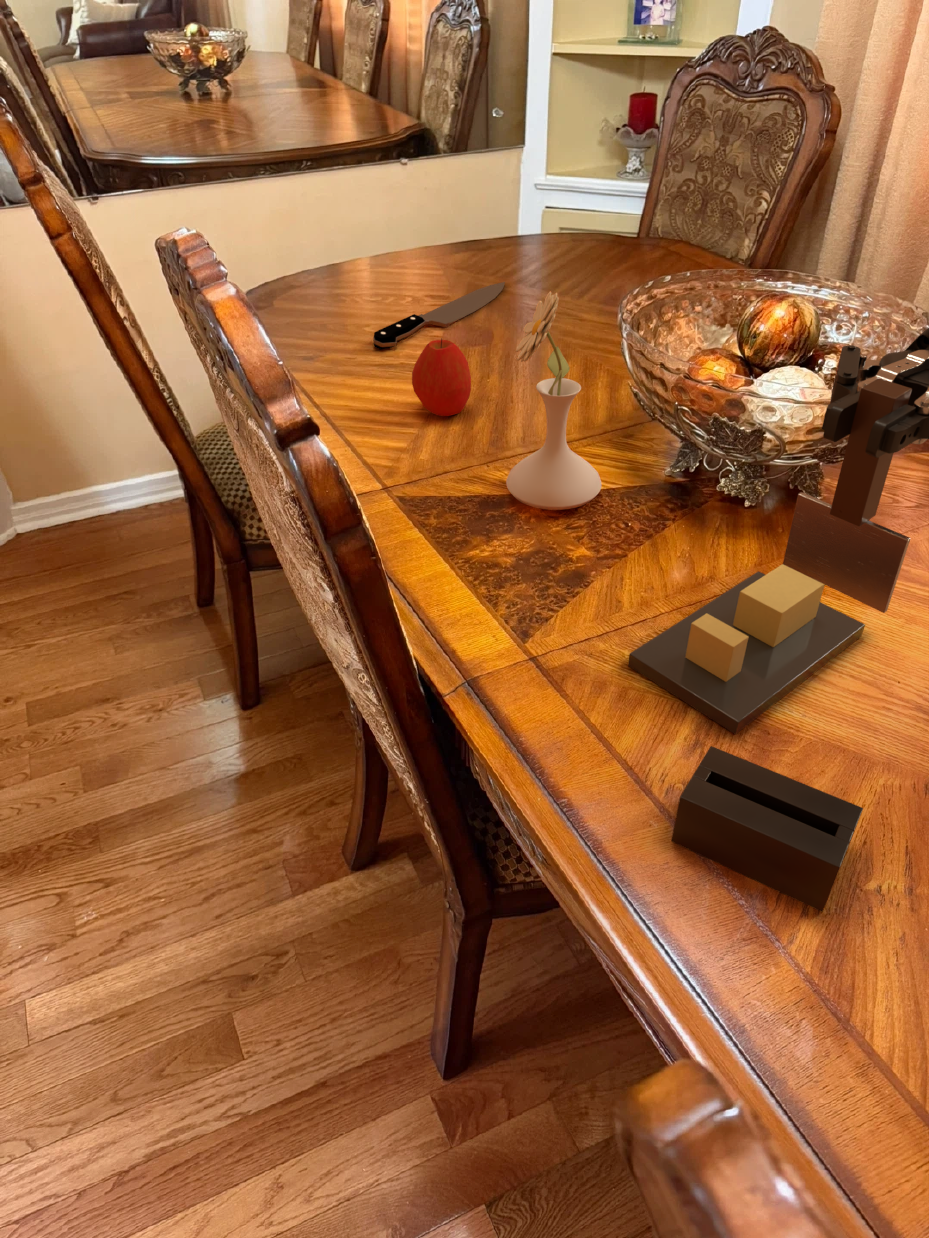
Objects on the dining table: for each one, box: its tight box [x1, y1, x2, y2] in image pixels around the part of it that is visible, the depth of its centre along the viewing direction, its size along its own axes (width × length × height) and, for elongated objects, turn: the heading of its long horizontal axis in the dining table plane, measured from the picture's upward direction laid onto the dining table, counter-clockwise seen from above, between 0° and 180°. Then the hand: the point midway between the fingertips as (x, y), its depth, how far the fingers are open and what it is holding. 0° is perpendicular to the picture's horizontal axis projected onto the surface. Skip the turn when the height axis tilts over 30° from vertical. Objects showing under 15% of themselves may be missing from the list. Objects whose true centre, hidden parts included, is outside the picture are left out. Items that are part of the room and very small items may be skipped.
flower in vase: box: [505, 290, 603, 511], centre depth 99 cm, size 13×11×25 cm
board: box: [627, 571, 866, 735], centre depth 83 cm, size 20×12×2 cm, turn 130°
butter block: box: [733, 563, 826, 647], centre depth 84 cm, size 7×4×4 cm, turn 131°
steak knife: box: [372, 281, 506, 350], centre depth 158 cm, size 5×41×2 cm, turn 147°
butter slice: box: [686, 613, 749, 682], centre depth 79 cm, size 2×4×4 cm, turn 41°
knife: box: [782, 378, 912, 614], centre depth 58 cm, size 2×8×15 cm, turn 41°
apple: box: [411, 338, 472, 417], centre depth 124 cm, size 8×8×11 cm
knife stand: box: [670, 745, 864, 913], centre depth 64 cm, size 6×11×5 cm, turn 56°
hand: (853, 433), depth 53 cm, fingers closed on knife, 2 cm apart
